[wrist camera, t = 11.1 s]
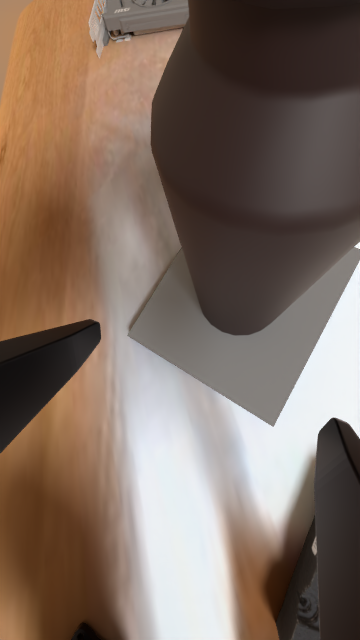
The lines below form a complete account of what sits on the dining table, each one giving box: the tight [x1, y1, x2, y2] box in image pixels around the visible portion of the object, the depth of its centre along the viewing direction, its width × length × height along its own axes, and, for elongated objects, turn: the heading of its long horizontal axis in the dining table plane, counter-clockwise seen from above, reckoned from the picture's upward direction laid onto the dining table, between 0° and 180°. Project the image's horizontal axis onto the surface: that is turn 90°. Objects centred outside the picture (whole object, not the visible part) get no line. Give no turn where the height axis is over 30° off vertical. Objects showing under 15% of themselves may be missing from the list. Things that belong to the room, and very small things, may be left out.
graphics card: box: [89, 0, 189, 59], centre depth 30 cm, size 17×4×12 cm
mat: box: [127, 247, 360, 427], centre depth 20 cm, size 16×14×1 cm
